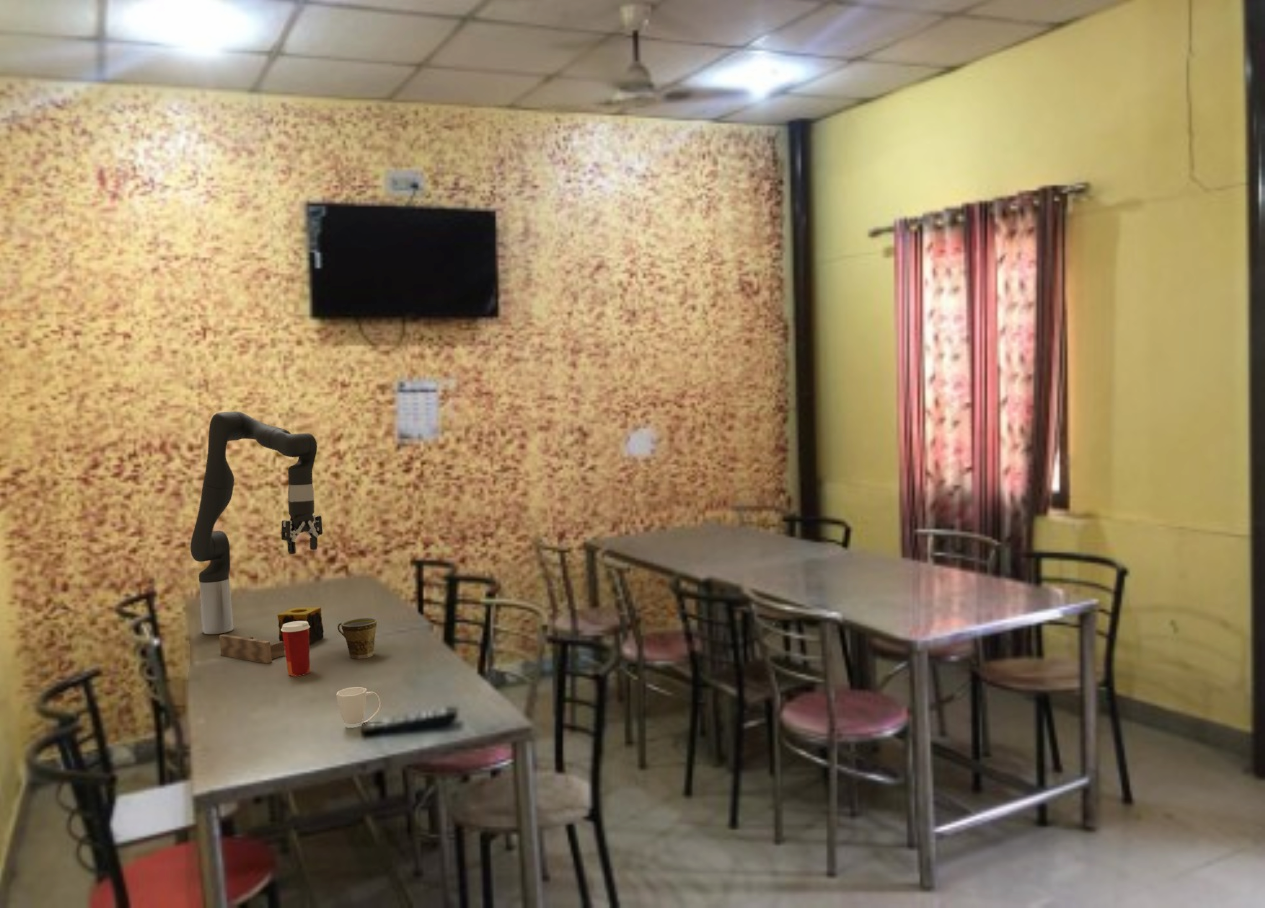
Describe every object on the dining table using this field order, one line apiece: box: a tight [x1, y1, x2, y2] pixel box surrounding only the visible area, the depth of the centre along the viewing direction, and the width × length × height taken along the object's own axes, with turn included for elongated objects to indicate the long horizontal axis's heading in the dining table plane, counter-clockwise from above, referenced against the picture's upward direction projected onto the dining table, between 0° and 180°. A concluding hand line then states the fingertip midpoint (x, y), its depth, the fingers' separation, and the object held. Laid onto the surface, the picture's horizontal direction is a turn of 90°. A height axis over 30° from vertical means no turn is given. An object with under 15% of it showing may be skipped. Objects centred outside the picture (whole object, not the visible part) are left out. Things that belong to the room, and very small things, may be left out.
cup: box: [335, 686, 382, 725], centre depth 240 cm, size 7×10×8 cm
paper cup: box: [281, 621, 311, 677], centre depth 286 cm, size 8×8×14 cm
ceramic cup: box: [337, 617, 378, 660], centre depth 302 cm, size 13×10×10 cm
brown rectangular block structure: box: [218, 633, 286, 664], centre depth 308 cm, size 22×8×6 cm, turn 56°
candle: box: [277, 606, 325, 646], centre depth 322 cm, size 10×10×10 cm
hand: (302, 551), depth 317 cm, fingers open, 8 cm apart
